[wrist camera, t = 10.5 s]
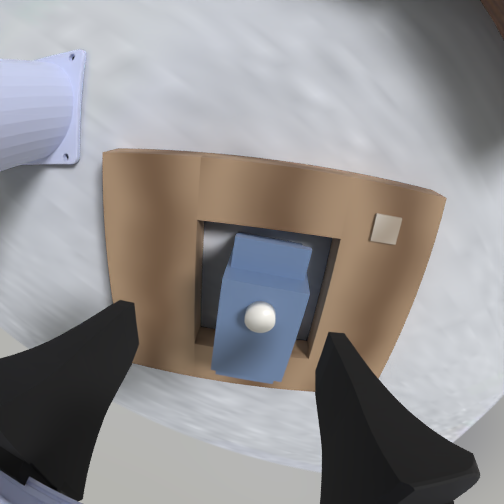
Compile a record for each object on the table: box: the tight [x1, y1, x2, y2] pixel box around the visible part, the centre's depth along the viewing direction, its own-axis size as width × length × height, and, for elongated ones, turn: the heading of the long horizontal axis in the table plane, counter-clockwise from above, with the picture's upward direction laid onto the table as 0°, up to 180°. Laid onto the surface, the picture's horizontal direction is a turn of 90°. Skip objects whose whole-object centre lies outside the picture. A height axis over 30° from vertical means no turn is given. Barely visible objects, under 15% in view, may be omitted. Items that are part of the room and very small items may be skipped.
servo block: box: [211, 232, 312, 384], centre depth 18 cm, size 4×9×7 cm, turn 171°
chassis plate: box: [103, 148, 446, 392], centre depth 20 cm, size 20×16×2 cm
